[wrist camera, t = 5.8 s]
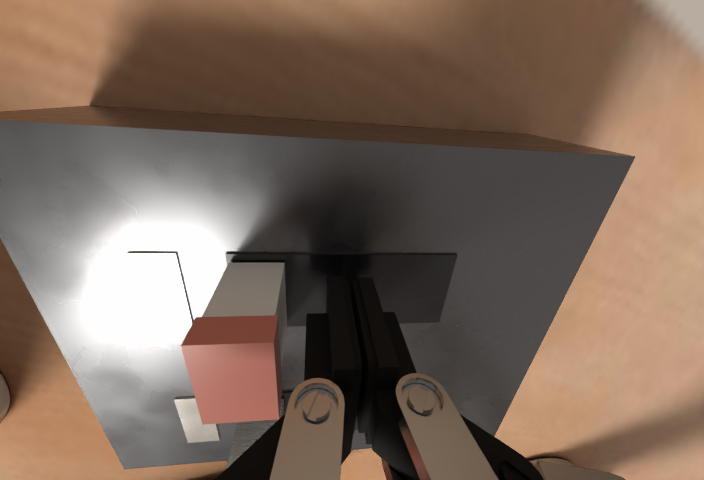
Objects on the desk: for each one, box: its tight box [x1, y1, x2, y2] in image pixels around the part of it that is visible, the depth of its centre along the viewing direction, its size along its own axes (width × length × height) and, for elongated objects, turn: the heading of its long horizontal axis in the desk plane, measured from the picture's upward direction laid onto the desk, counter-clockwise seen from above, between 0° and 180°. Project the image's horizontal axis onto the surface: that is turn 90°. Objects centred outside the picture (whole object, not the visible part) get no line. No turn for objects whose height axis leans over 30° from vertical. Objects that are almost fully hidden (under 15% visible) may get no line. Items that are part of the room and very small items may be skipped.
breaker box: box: [0, 106, 635, 473], centre depth 14 cm, size 22×18×10 cm
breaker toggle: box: [181, 263, 287, 425], centre depth 10 cm, size 2×3×4 cm
